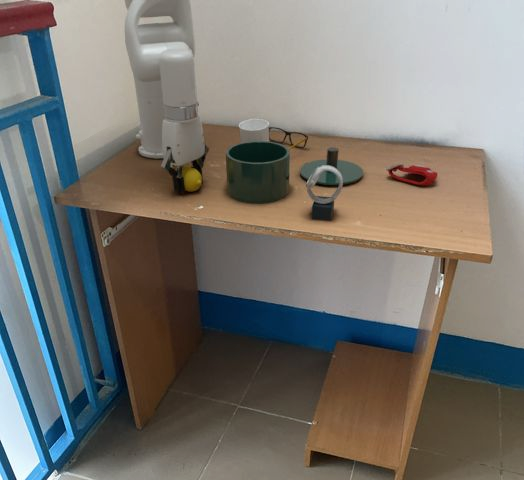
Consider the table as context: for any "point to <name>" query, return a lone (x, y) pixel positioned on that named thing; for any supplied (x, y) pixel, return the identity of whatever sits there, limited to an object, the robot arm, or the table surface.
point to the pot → (257, 171)
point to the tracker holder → (415, 170)
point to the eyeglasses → (290, 138)
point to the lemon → (191, 178)
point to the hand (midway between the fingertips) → (188, 187)
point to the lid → (346, 169)
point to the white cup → (254, 130)
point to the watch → (322, 205)
